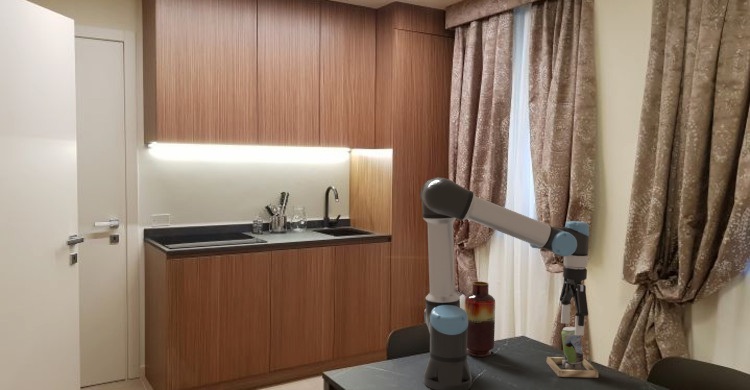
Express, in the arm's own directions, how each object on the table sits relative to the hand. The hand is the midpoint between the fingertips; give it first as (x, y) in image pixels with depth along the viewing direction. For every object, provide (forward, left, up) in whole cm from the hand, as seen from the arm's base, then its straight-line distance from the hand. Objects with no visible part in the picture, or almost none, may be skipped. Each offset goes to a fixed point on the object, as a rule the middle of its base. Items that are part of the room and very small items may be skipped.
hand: (571, 329), depth 182 cm
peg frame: (0, 0, -14) cm, 14 cm away
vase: (-29, +15, -14) cm, 35 cm away
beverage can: (0, 0, -12) cm, 12 cm away
